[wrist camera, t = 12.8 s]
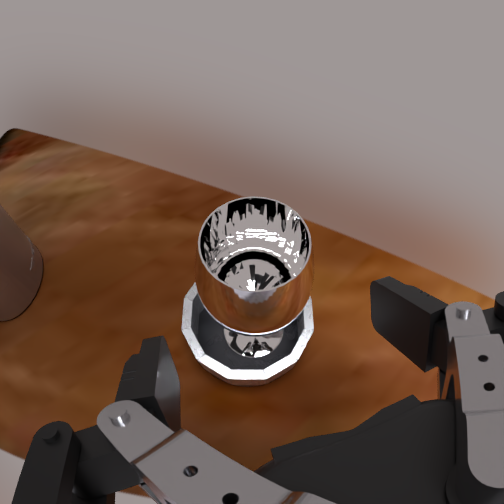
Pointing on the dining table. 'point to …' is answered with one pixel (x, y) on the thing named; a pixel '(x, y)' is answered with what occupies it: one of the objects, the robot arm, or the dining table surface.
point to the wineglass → (254, 271)
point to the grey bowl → (229, 362)
